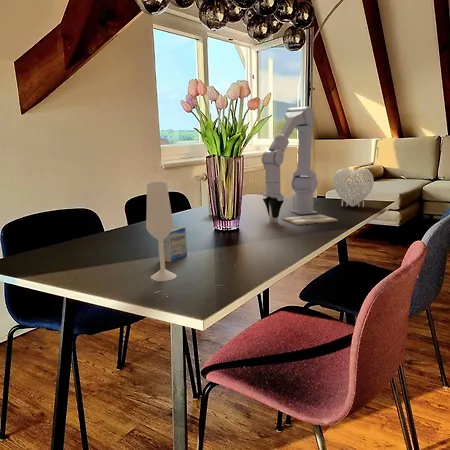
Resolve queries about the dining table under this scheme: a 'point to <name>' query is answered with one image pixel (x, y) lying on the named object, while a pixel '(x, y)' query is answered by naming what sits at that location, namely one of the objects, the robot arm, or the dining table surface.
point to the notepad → (309, 219)
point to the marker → (271, 219)
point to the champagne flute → (159, 222)
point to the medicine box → (175, 245)
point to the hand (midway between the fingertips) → (273, 216)
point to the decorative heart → (353, 185)
